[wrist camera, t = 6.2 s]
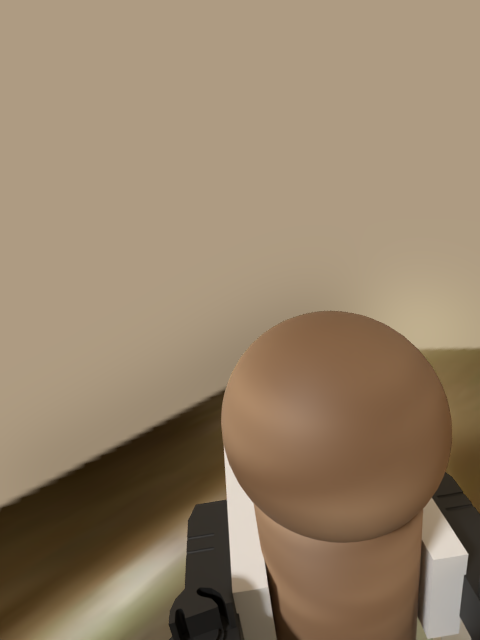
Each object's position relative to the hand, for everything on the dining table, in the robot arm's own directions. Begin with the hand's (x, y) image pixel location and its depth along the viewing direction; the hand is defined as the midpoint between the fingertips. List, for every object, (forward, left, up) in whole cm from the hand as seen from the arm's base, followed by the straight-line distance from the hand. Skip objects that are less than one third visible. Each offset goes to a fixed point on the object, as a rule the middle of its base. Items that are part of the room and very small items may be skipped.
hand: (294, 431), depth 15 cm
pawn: (+2, -5, -8) cm, 10 cm away
